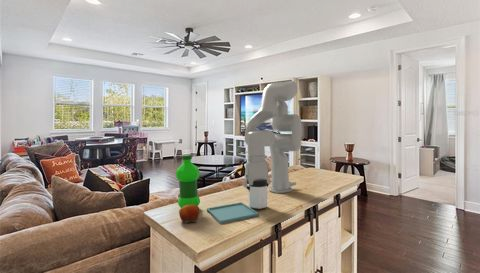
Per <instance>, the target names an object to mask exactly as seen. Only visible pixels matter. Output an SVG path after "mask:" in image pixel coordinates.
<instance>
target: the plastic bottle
mask: <svg viewBox="0 0 480 273" xmlns="http://www.w3.org/2000/svg"><path fill="white" fill-rule="evenodd" d="M192 159H193V157H192V154H183V155H181V160H182V161H183V163H182V164H181V165H180V166H179V167H178V168H176V171H175V177H176V178H175V179H177V180H178V185H179V197H178V200H177V204H178V206H179V209H181V208H182V207H183V206H185V205H188V204H194V205H197V206H198V207H199V205H200V203H201V199H200V197H199V193H198V179H199V178H200V170H199V168H198V167H197V166H196V165H195V164H194V163H192V161H191V160H192Z"/></svg>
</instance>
